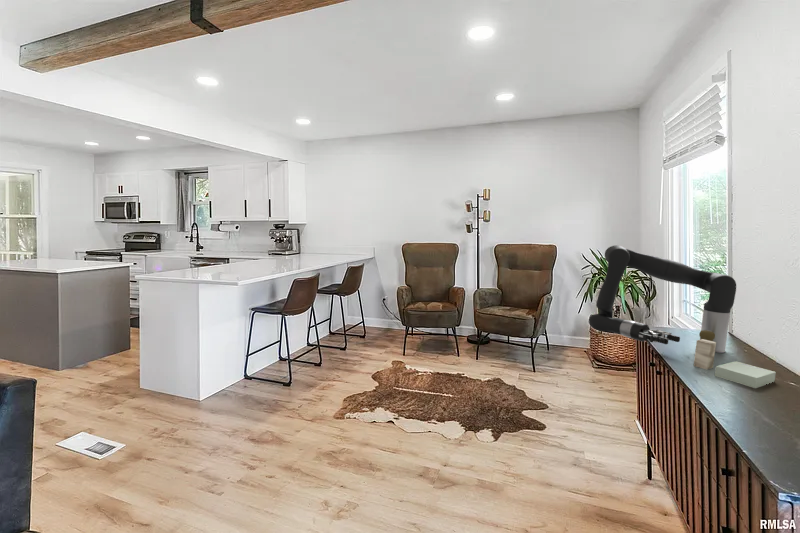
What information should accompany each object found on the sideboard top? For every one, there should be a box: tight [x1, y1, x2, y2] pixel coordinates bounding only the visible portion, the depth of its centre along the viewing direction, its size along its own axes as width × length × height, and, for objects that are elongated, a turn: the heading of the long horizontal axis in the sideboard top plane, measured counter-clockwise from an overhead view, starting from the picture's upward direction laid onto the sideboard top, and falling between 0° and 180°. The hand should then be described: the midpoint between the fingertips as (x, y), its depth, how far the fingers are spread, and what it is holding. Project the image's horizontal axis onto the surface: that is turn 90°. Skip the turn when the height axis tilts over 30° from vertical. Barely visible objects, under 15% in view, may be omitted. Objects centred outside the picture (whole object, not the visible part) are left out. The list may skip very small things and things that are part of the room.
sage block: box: [714, 360, 777, 389], centre depth 148 cm, size 14×12×4 cm
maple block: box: [693, 339, 716, 371], centre depth 159 cm, size 4×4×10 cm
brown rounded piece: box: [699, 330, 715, 341], centre depth 171 cm, size 6×6×11 cm
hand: (673, 340), depth 168 cm, fingers open, 8 cm apart
